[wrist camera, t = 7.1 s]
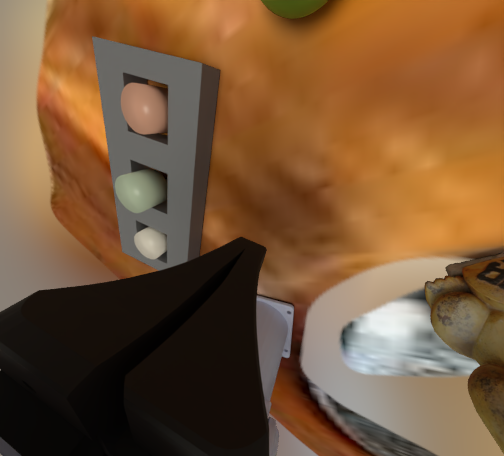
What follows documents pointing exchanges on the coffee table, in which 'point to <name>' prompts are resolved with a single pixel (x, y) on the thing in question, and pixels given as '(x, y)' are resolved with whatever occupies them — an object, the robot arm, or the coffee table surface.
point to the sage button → (141, 189)
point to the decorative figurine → (475, 330)
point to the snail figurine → (293, 7)
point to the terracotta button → (145, 108)
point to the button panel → (161, 144)
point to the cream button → (151, 242)
